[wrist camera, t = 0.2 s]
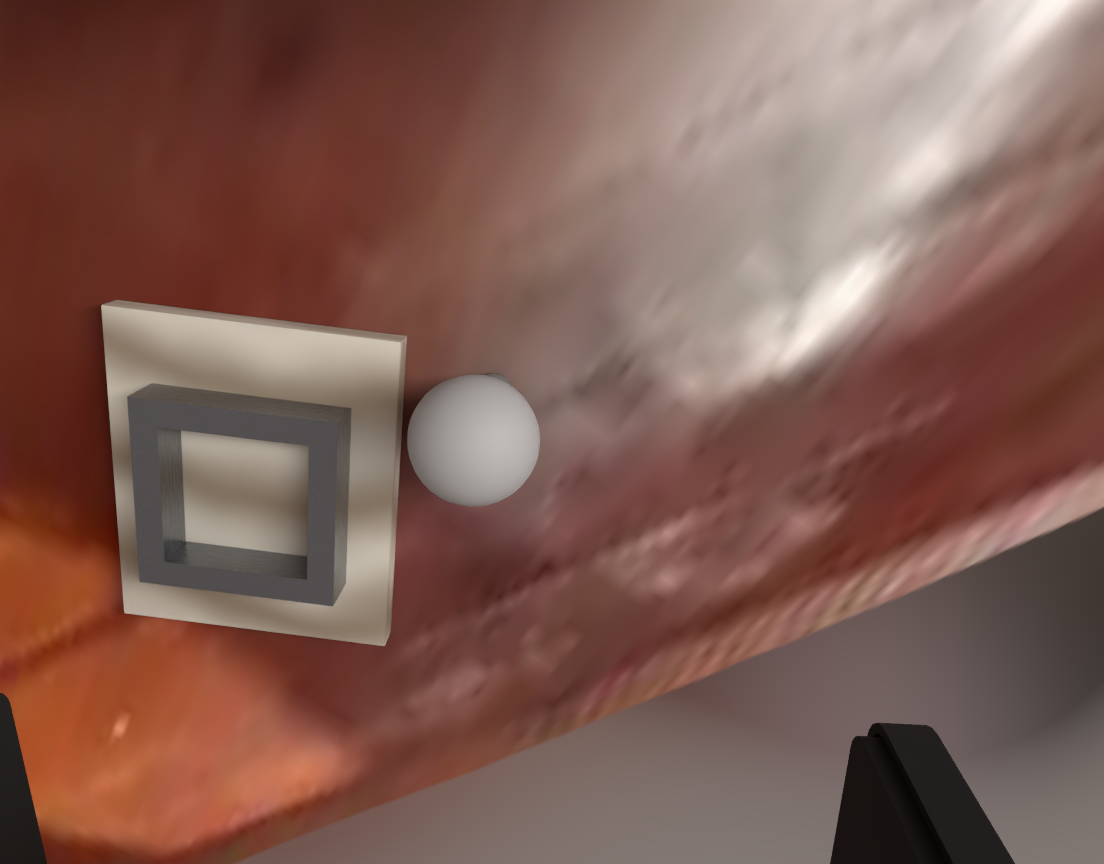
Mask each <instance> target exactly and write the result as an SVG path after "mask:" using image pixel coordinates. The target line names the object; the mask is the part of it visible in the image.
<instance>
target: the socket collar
mask: <svg viewBox="0 0 1104 864" xmlns="http://www.w3.org/2000/svg"><path fill="white" fill-rule="evenodd" d="M127 403H128V418H129V433H130V448H131V463H132V478H133V493H134V508H135V523H136V538H137V553H138V568H139V582H144V583H151V584H159V585H167V586H175V587H183V588H191V589H199V590H207V591H215V592H223V593H230V594H238V595H246V596H254V597H262V598H270V599H278V600H286V601H294V602H302V603H309V604H317V605H325V606H334V604H335V602H336V600H337V599H338V597H339V595H340V593H341V591H342V590H343V588H344V586H345V584H346V564H347V534H348V503H349V472H350V442H351V411H352V408H347V407H339V406H331V405H323V404H315V403H307V402H299V401H291V400H283V399H275V398H267V397H259V396H251V395H243V394H235V393H227V392H219V391H211V390H203V389H195V388H187V387H179V386H171V385H163V384H155V383H151V384H149V385H147V386H146V387H144V388H142V389H140V390H138V391H136V392H135V393H133V394H131V395H129V396H127ZM181 430H182V431H190V432H198V433H206V434H214V435H222V436H230V437H238V438H246V439H254V440H262V441H270V442H278V443H286V444H294V445H302V446H309V470H308V542H307V556H300V555H292V554H284V553H276V552H268V551H260V550H252V549H245V548H237V547H229V546H221V545H213V544H205V543H197V542H189V541H186V534H185V511H184V488H183V465H182V442H181Z"/></svg>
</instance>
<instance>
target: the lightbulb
mask: <svg viewBox="0 0 1104 864" xmlns="http://www.w3.org/2000/svg"><path fill="white" fill-rule="evenodd" d="M539 447H540V433H539V426H538V423H537V420H536V417H535V414H534V412H533V411H532V409H531V407H530V406H529V404H528V402H527V401H526V399H525V398H524V397H523V396H522V395H521V394H520V393H519V392H518V391H517V390H516V389H514V388H513V386H512V385H511V383H510V382H509V381H508V380H507V379H506V378H505V377H503V376H501V375H499V374H495V373H488V374H484V375H477V374H470V375H462V376H458V377H455V378H452V379H448V380H445V381H444V382H442V383H440V384H438V385H436V386H435V387H433V388H432V389H431V390H430V391H429V392H428V393H427V394H425V396H424V397H423V398H422V400H421V401H420V402H419V404H418V405H417V406H416V408H415V410H414V412H413V414H412V417H411V419H410V423H409V427H408V434H407V448H408V453H409V458H410V461H411V463H412V466H413V468H414V470H415V473H416V474H417V476H418V477H419V479H420V480H421V482H422V483H423V484H424V485H425V486H426V487H427V488H428V489H429V490H430V491H431V492H433V493H434V494H435V495H437V496H438V497H440V498H442V499H444V500H446V501H448V502H450V503H454V504H457V505H461V506H471V507H476V506H486V505H489V504H492V503H496V502H498V501H501V500H503V499H504V498H506V497H508V496H510V495H512V494H513V493H514V492H515V491H517V490H518V489H519V488H520V487H521V486H522V484H523V483H524V482H525V481H526V480H527V478H528V477H529V476H530V474H531V472H532V471H533V469H534V467H535V465H536V461H537V458H538V454H539Z"/></svg>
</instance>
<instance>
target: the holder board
mask: <svg viewBox="0 0 1104 864" xmlns="http://www.w3.org/2000/svg"><path fill="white" fill-rule="evenodd" d="M101 310H102V323H103V337H104V350H105V363H106V376H107V390H108V403H109V416H110V430H111V443H112V456H113V469H114V483H115V496H116V509H117V523H118V536H119V549H120V563H121V576H122V589H123V602H124V613H128V614H135V615H143V616H151V617H159V618H167V619H175V620H183V621H191V622H198V623H206V624H214V625H222V626H230V627H238V628H246V629H254V630H262V631H269V632H277V633H285V634H293V635H301V636H309V637H317V638H325V639H333V640H340V641H348V642H356V643H364V644H372V645H380V646H385V644H386V642H387V639H388V637H389V635H390V632H391V615H392V597H393V579H394V561H395V543H396V525H397V507H398V489H399V471H400V453H401V435H402V417H403V399H404V381H405V363H406V345H407V336H402V335H394V334H386V333H378V332H370V331H362V330H354V329H346V328H338V327H330V326H322V325H314V324H306V323H298V322H290V321H282V320H274V319H266V318H258V317H250V316H242V315H234V314H226V313H218V312H210V311H202V310H194V309H185V308H177V307H169V306H161V305H153V304H145V303H137V302H129V301H121V300H115V301H112V302H109V303H106V304H103V305H101ZM151 383H155V384H163V385H171V386H179V387H187V388H195V389H203V390H211V391H219V392H227V393H235V394H243V395H251V396H259V397H267V398H275V399H283V400H291V401H299V402H307V403H315V404H323V405H331V406H339V407H347V408H352V411H351V442H350V472H349V503H348V534H347V564H346V584H345V586H344V588H343V590H342V591H341V593H340V595H339V597H338V599H337V600H336V602H335V604H334V606H325V605H317V604H309V603H302V602H294V601H286V600H278V599H270V598H262V597H254V596H246V595H238V594H230V593H223V592H215V591H207V590H199V589H191V588H183V587H175V586H167V585H159V584H151V583H144V582H139V568H138V553H137V538H136V523H135V508H134V493H133V478H132V463H131V448H130V433H129V418H128V403H127V396H129V395H131V394H133V393H135V392H136V391H138V390H140V389H142V388H144V387H146V386H147V385H149V384H151ZM181 442H182V465H183V488H184V511H185V534H186V541H189V542H197V543H205V544H213V545H221V546H229V547H237V548H245V549H252V550H260V551H268V552H276V553H284V554H292V555H300V556H307V542H308V470H309V446H302V445H294V444H286V443H278V442H270V441H262V440H254V439H246V438H238V437H230V436H222V435H214V434H206V433H198V432H190V431H182V430H181Z"/></svg>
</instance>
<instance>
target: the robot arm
mask: <svg viewBox="0 0 1104 864" xmlns="http://www.w3.org/2000/svg"><path fill="white" fill-rule="evenodd" d="M0 864H47V861H46V857H45V853H44V848H43V844H42V840H41V835H40V831H39V827H38V822H37V818H36V814H35V809H34V805H33V801H32V796H31V792H30V788H29V783H28V779H27V775H26V770H25V766H24V761H23V757H22V753H21V748H20V744H19V740H18V735H17V731H16V727H15V722H14V718H13V714H12V709H11V705H10V702H9V700H8V698H7V697H6V696H5V695H4V694H2V693H0ZM830 864H1015V863H1014V861H1013V860H1012V858H1011V856H1010V855H1009V853H1008V852H1007V850H1006V848H1005V846H1004V845H1003V843H1002V841H1001V840H1000V838H999V836H998V835H997V833H996V831H995V830H994V828H993V826H992V825H991V823H990V821H989V820H988V818H987V816H986V815H985V813H984V811H983V810H982V808H981V806H980V804H979V803H978V801H977V799H976V798H975V796H974V794H973V793H972V791H971V789H970V788H969V786H968V784H967V783H966V781H965V779H964V778H963V776H962V774H961V773H960V771H959V769H958V768H957V766H956V764H955V763H954V761H953V759H952V758H951V756H950V754H949V753H948V751H947V749H946V748H945V746H944V744H943V743H942V741H941V739H940V738H939V736H938V735H937V733H936V732H935V731H934V730H933V728H931V727H929V726H927V725H911V724H910V725H908V724H891V723H875V724H873V725H872V726H871V728H870V729H869V732H868V736H856V737H855V738H854V739H853V741H852V744H851V748H850V754H849V760H848V766H847V771H846V777H845V783H844V788H843V794H842V800H841V805H840V811H839V817H838V823H837V828H836V834H835V840H834V845H833V851H832V856H831V862H830Z"/></svg>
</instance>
